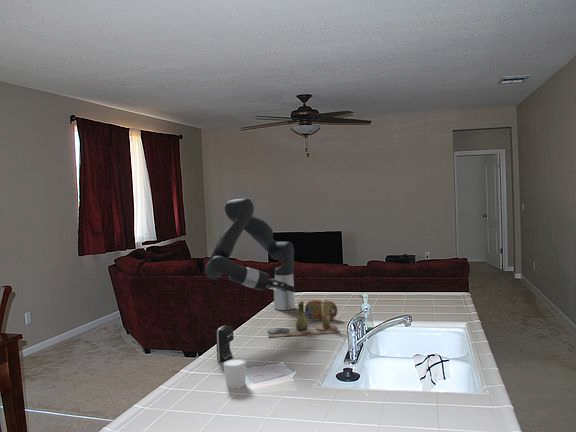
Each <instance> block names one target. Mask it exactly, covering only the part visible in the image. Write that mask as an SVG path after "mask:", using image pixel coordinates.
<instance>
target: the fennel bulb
mask: <svg viewBox="0 0 576 432" xmlns="http://www.w3.org/2000/svg"><path fill="white" fill-rule="evenodd" d="M297 307H298V315H297V318H296V323H295V328H296V330H297V331H298V332H304V331H306V330H308V327H309V322H308V320H307V318H306V316H305V312H304V311H305V308H304V301H303V300H302V301H299V302H298V306H297Z"/></svg>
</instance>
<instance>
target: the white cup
mask: <svg viewBox="0 0 576 432" xmlns="http://www.w3.org/2000/svg"><path fill="white" fill-rule="evenodd" d="M223 370H224V376H225V383H226V384H225V385H226V388H228V389H233V390H234V389H241V388H243V387H244V386H246V375H247V374H246V372H247V361H246V359H242V358H241V359H240V358H233V359H228V360H227V361H223Z"/></svg>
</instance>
